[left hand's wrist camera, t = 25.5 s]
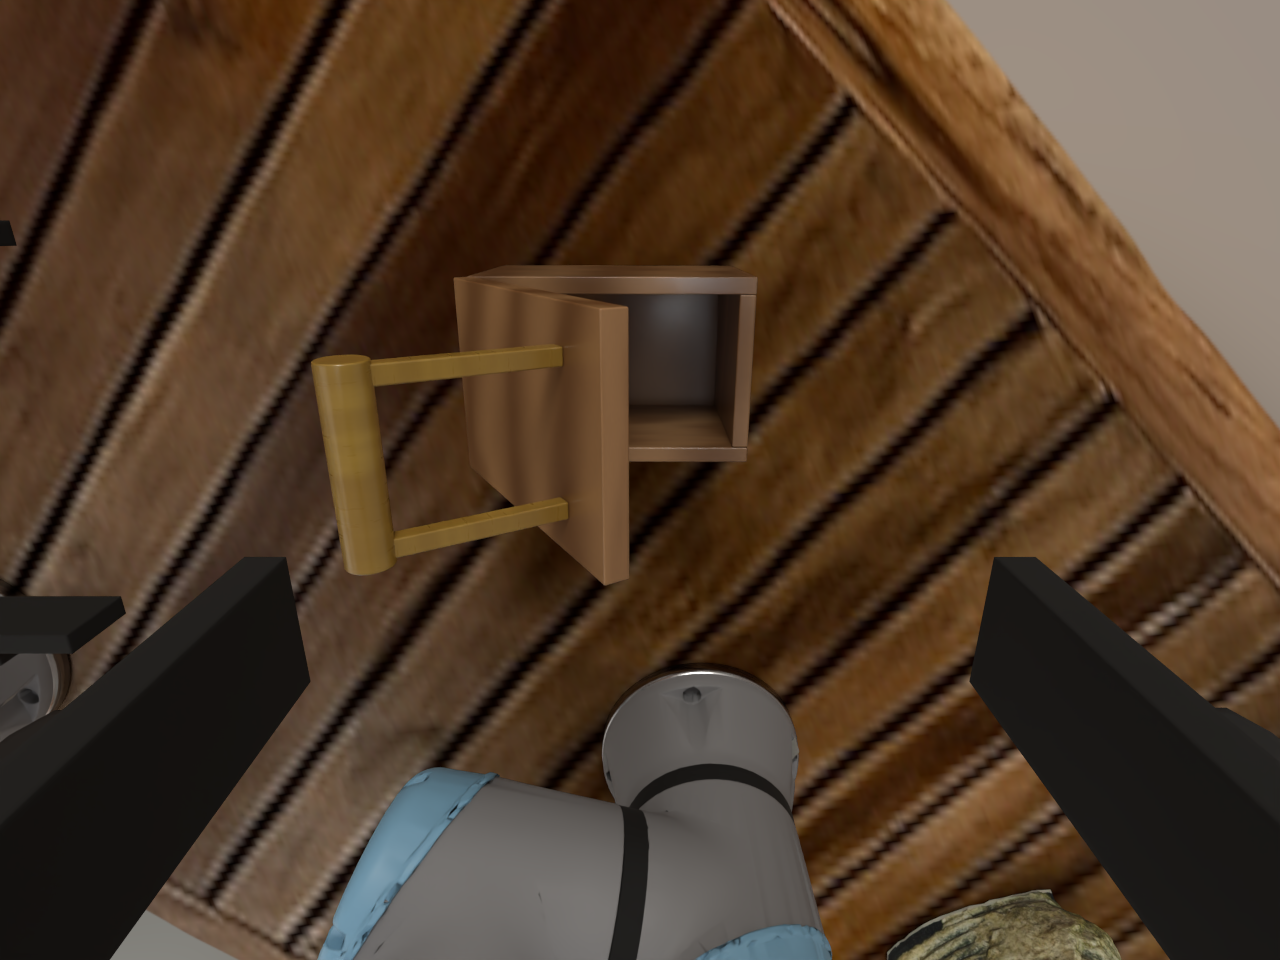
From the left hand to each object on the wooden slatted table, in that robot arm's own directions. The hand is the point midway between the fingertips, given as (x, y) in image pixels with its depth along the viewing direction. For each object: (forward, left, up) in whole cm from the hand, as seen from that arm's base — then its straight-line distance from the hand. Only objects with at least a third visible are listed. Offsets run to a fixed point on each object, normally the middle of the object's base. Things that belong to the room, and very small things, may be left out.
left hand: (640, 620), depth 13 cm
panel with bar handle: (-3, +3, -17) cm, 17 cm away
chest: (-1, +1, -33) cm, 33 cm away
